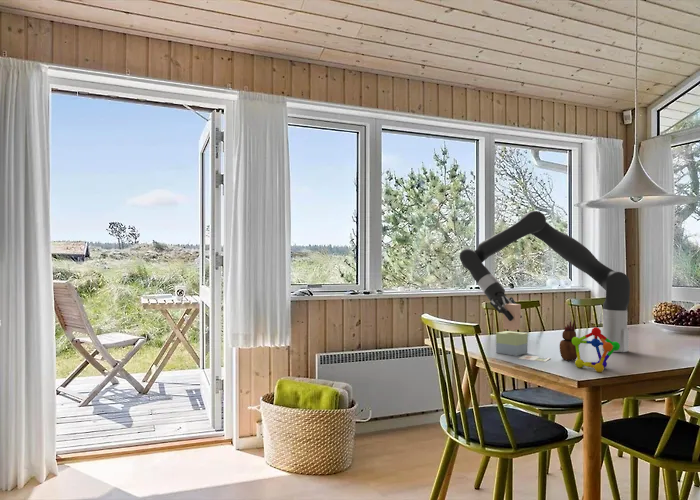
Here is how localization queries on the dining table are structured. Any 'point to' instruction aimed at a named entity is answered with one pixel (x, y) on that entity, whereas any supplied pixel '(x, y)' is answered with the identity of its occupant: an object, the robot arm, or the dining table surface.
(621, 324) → the robot arm
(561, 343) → the wooden figurine
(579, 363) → the educational toy
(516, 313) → the brick
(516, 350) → the pedestal
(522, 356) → the page
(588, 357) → the dining table surface
